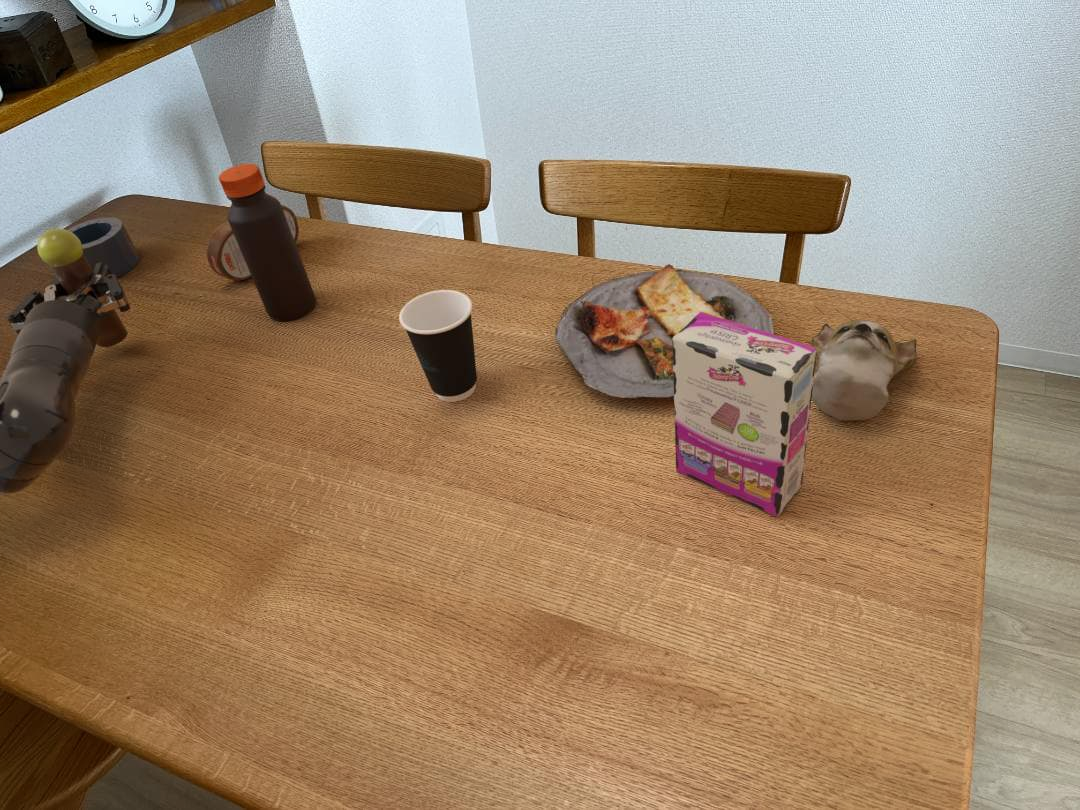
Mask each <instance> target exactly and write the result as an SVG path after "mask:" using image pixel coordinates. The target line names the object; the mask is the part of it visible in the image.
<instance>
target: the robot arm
mask: <svg viewBox="0 0 1080 810" xmlns="http://www.w3.org/2000/svg"><path fill="white" fill-rule="evenodd" d="M91 277H92V278H91V279H90V280H89V282H88V283H82V284H81V285H80V286H79V288H78V289H77V290H76V291H75V292H74V293H73V294H70V295H69V296H68V295H67V294H66V292H65V290H64V289H63V287H62V285H61V284H60V282H59V280H58V279H57V277H56V276H55V277H53V279H52V282H51V284H50V285H48V286H46V287H45V291H42V292H41V291H40V290H33V291H32V292H30V293H29V294H28V295H27V296H26V297H25V298H24V299H22V300H21V302H20V303H19V304H18V305H16V306H15V308H14V309H13V310H12V311H10V313H9V314H7V316H6V319H7V320H8V322H9V324H10V326H11V327H12V329H13V330H14V331H15V332H16V334H17V336H16V338H15V341H14V343H13V345H12V348H11V352H10V357H9V360H8V362H7V364H6V366H5V369H4V371H3V373H2V374H1V378H0V494H17V493H20V492H22V491H24V490H26V489H27V488H29V487H30V486H31V485H32V484H34V482H36V481H37V479H38V478H39V477H40V476H41V475H42V474H43V473H44V472H45V471H46V470H47V469H48V468H49V467H50V466H51V465H52V464H53V463H54V461H55V460H56V459H58V457H59V456H60V455H62V453H63V452H64V451H65V450H66V448H67V447H68V445H69V444H70V443H71V441H72V438H73V436H74V434H75V431H76V428H77V422H78V420H77V405H76V399H77V395H78V393H79V389H80V386H81V383H82V381H83V379H84V378H85V377H86V375H87V372H88V371H89V369H90V364H91V363H92V359H93V356H94V353H95V349H96V347H97V341H98V338H99V323H100V321H101V320H102V319H104V318H105V316H106V312H108V311H110V310H113V309H115V310H119V312H121V313H125V312H128V311H130V309H131V305H130V302H129V300H128V297H127V295H126V293H125V290H124V289H123V287H122V285H121V283H120V281H119V279H118V277H117V278H116V276H115V274H111V272H110V270H109V268H108V266H107V265H104V263H97V264H96V266H95V268H94V271H93V274H92V276H91ZM97 290H98V291H97ZM105 299H106V300H105ZM104 300H105V301H104Z"/></svg>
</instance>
